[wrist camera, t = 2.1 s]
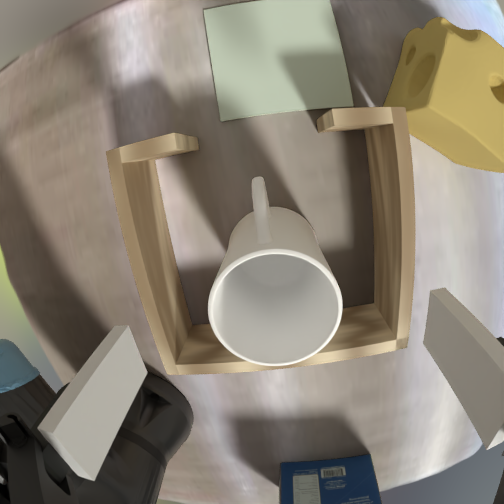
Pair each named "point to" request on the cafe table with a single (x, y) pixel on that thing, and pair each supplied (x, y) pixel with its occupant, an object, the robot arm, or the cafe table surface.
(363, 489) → the protein box
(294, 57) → the mat
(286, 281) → the mug
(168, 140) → the frame
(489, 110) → the cheese
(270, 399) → the cafe table surface
